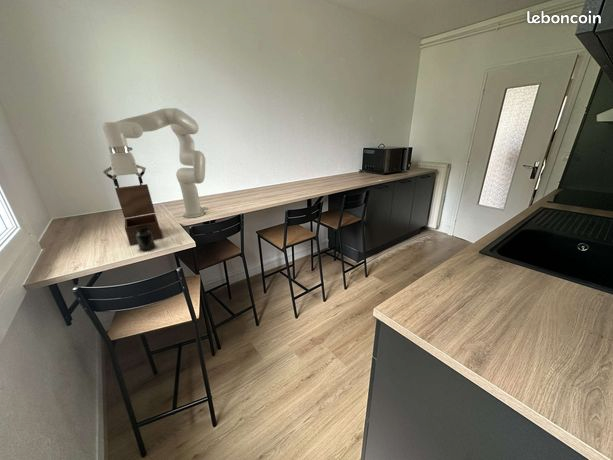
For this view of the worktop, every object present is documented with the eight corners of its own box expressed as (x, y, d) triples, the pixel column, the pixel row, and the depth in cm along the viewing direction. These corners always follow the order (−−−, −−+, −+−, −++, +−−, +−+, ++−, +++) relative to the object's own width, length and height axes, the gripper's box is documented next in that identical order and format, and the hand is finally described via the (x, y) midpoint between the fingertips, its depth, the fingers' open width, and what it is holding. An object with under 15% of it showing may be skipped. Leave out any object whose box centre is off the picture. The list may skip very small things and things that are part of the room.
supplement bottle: (157, 248, 127) (151, 226, 122) (142, 253, 122) (135, 230, 118) (152, 244, 131) (146, 223, 126) (138, 248, 127) (131, 227, 122)
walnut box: (162, 238, 138) (157, 221, 134) (130, 245, 130) (124, 228, 126) (159, 229, 150) (155, 213, 146) (130, 235, 142) (124, 218, 138)
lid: (147, 184, 140) (146, 183, 144) (114, 188, 132) (115, 187, 136) (155, 212, 145) (154, 211, 149) (124, 218, 138) (124, 216, 142)
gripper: (140, 148, 126) (149, 182, 133) (97, 150, 117) (109, 186, 124) (141, 150, 120) (150, 185, 127) (95, 152, 112) (108, 190, 118)
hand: (129, 186), depth 125 cm, fingers open, 9 cm apart
